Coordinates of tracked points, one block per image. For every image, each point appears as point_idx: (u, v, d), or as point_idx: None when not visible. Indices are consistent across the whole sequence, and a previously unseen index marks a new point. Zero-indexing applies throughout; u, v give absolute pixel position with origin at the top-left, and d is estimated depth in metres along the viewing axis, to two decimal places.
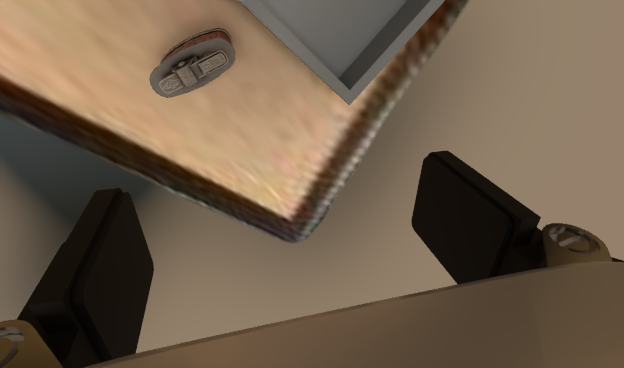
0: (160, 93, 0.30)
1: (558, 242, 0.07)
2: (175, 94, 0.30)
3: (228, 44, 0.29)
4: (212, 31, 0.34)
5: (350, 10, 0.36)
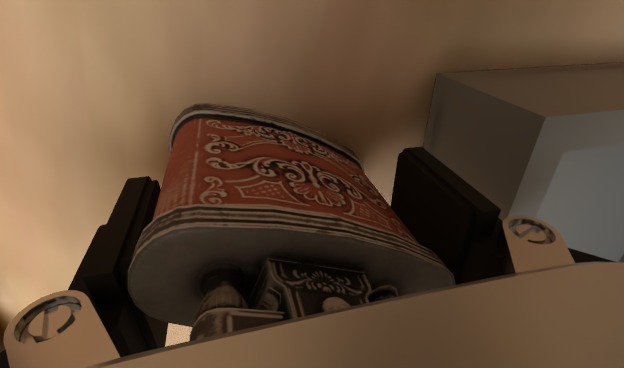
0: (140, 296, 0.06)
1: (517, 234, 0.08)
2: (189, 321, 0.07)
3: None
4: (347, 155, 0.14)
5: None
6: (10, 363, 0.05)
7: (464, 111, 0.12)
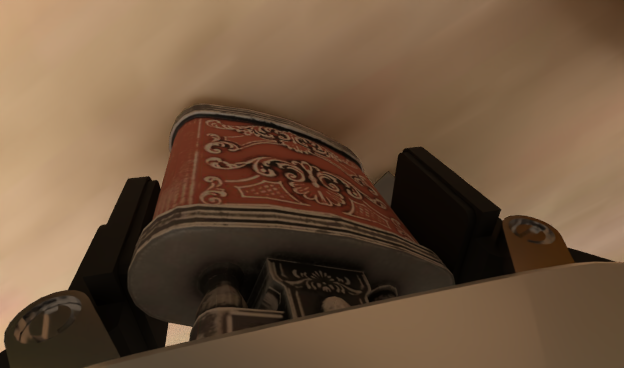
0: (140, 296, 0.06)
1: (517, 234, 0.08)
2: (189, 321, 0.07)
3: None
4: (346, 154, 0.14)
5: None
6: (10, 363, 0.05)
7: None
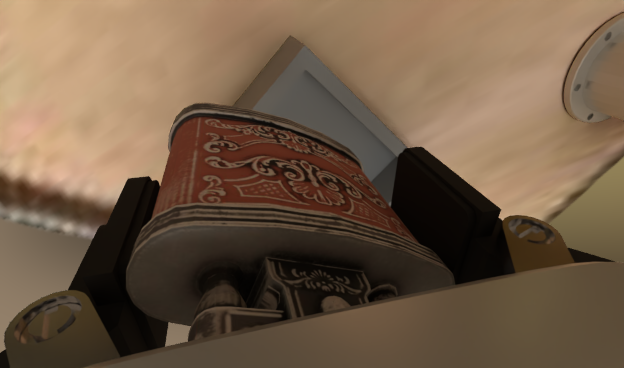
0: (139, 295, 0.06)
1: (517, 234, 0.08)
2: (188, 320, 0.07)
3: None
4: (346, 154, 0.14)
5: None
6: (10, 363, 0.05)
7: (288, 48, 0.27)
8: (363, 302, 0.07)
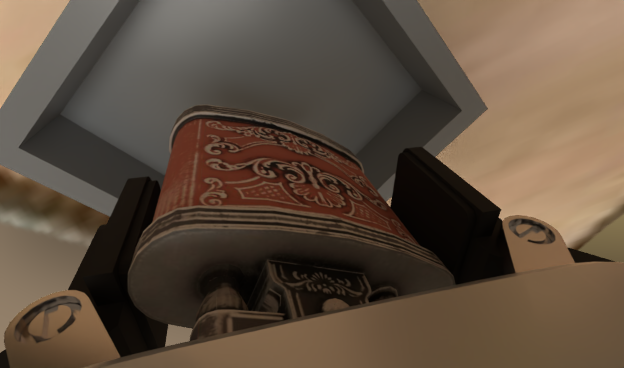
0: (140, 298, 0.06)
1: (517, 234, 0.08)
2: (189, 323, 0.07)
3: None
4: (347, 155, 0.14)
5: None
6: (10, 363, 0.05)
7: None
8: None
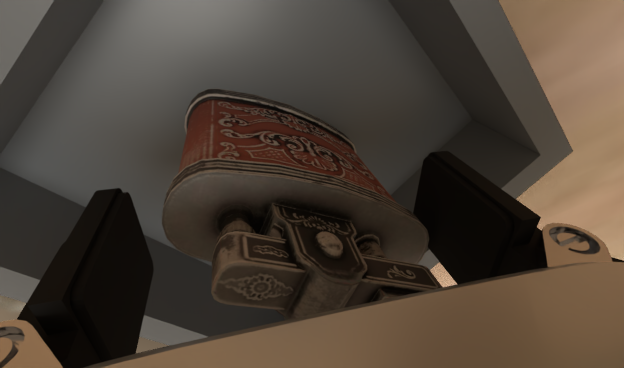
0: (171, 230, 0.08)
1: (558, 242, 0.07)
2: (207, 256, 0.09)
3: (423, 249, 0.11)
4: (341, 137, 0.15)
5: None
6: None
7: None
8: (350, 240, 0.08)
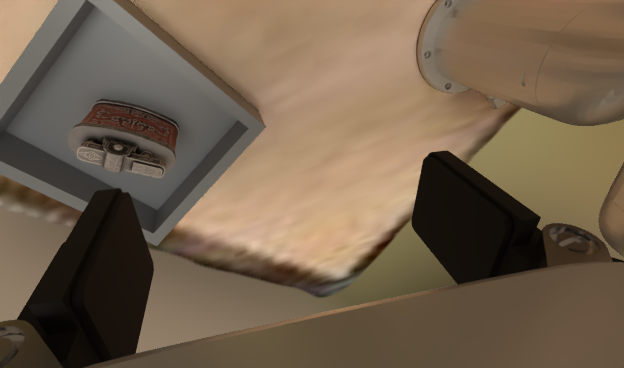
0: (70, 144, 0.26)
1: (558, 242, 0.07)
2: None
3: (173, 159, 0.29)
4: (168, 121, 0.34)
5: None
6: None
7: None
8: (129, 149, 0.27)
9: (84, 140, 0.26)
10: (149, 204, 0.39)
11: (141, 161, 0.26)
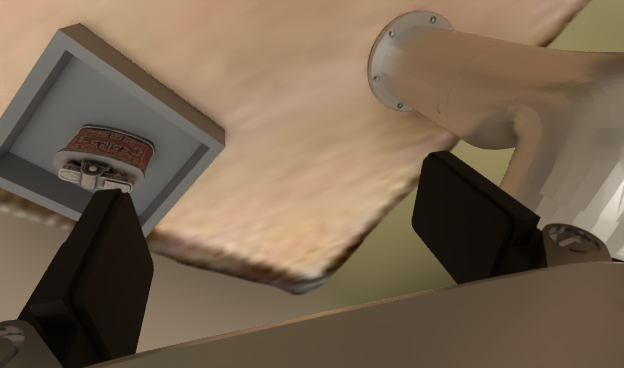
0: (55, 166, 0.32)
1: (558, 242, 0.07)
2: None
3: (142, 176, 0.35)
4: (143, 141, 0.39)
5: None
6: None
7: None
8: (103, 169, 0.32)
9: (66, 162, 0.32)
10: None
11: (112, 179, 0.32)
